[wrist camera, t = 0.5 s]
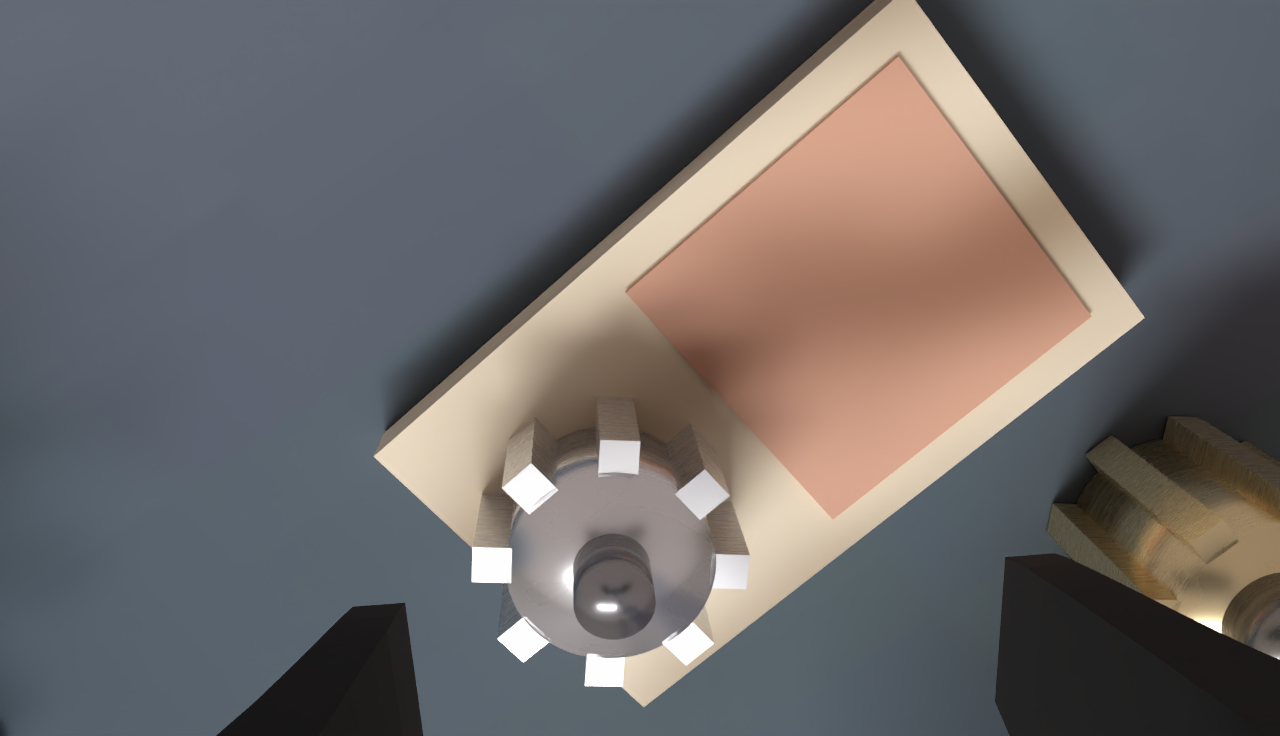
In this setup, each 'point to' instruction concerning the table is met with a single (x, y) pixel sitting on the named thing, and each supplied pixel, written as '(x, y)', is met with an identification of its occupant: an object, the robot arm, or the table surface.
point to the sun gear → (608, 542)
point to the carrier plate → (800, 315)
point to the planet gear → (1185, 527)
